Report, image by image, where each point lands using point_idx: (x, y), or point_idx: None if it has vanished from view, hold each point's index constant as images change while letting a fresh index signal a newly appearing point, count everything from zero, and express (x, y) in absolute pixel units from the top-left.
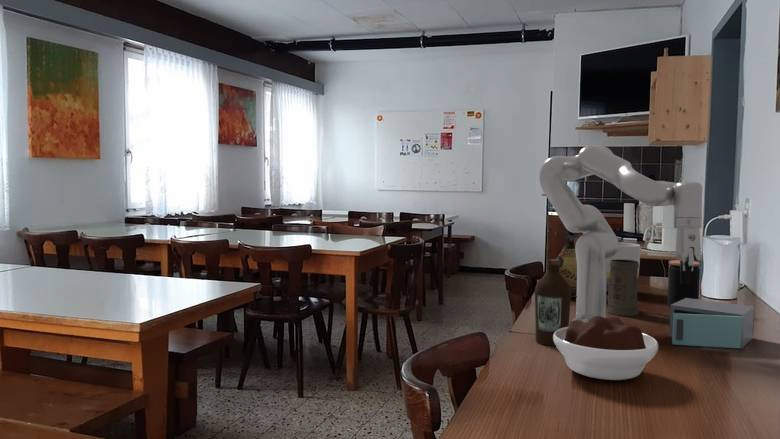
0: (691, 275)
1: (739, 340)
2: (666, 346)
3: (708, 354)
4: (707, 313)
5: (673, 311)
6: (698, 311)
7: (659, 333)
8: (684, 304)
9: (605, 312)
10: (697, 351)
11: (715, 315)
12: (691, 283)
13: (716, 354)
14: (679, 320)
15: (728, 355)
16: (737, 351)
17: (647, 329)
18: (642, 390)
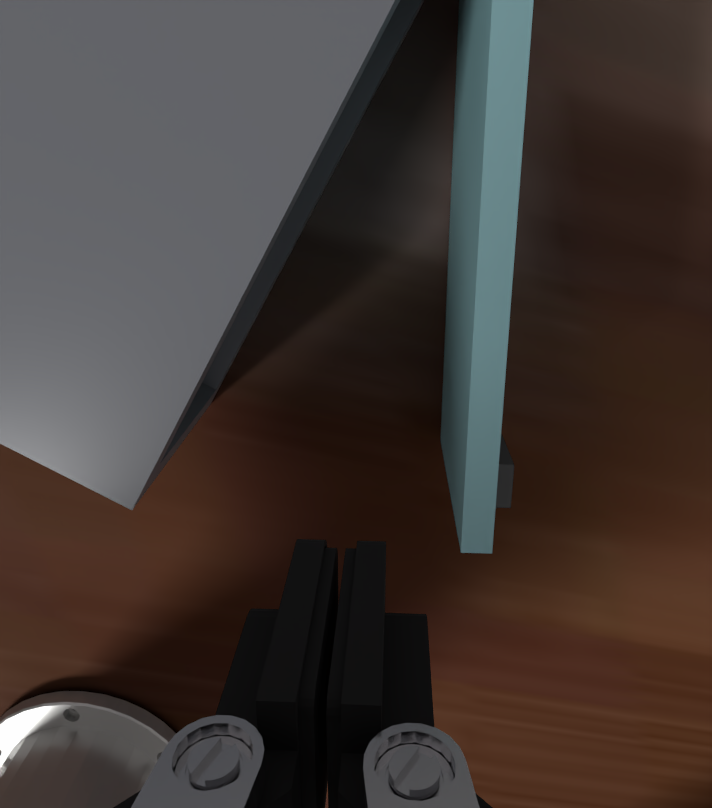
0: (381, 659)
1: None
2: None
3: (650, 269)
4: (293, 202)
5: (163, 460)
6: (253, 282)
7: None
8: (51, 371)
9: (71, 796)
10: (581, 321)
11: (498, 180)
12: (385, 560)
13: (644, 213)
14: (510, 491)
15: (662, 132)
16: (540, 18)
17: (56, 495)
18: None
